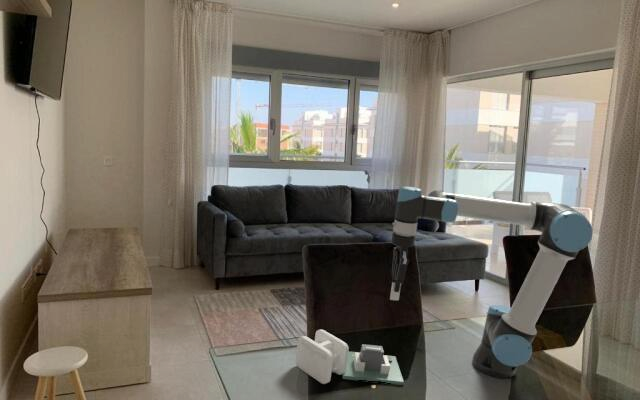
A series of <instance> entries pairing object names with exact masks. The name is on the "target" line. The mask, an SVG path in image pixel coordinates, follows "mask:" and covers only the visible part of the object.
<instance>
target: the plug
mask: <svg viewBox="0 0 640 400" xmlns="http://www.w3.org/2000/svg"><path fill="white" fill-rule="evenodd" d="M359 353H360V361H361V362H365V367H364V370H373V371H380V370H381V364H382V360H383V355H384V354H385V351H384V348H383V345H374V344H363V343H362V344H361V347H360V351H359Z"/></svg>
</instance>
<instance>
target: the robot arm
mask: <svg viewBox="0 0 640 400" xmlns="http://www.w3.org/2000/svg"><path fill="white" fill-rule="evenodd" d="M395 206H396V207H395V215H394V222H392V226H393V232H392V234H391V244H393V245H394V246H395V247H393V248H392V250H393V251H392V264H391V266H392V267H391V277H392V280H391V290H390V296H389V299H390V301H399V300H400V293H401V286H402V284H404V282H405V277H406V273H407V269H408V265H409V262H410V259H409V251H408V249H409V248H412V247H414V245H415V240H416V236H415V235H416V234H417V229H418V220H419V219H424V220H430V221H437V222H443V223H455V221H456V220H457V217H463V218H471V219H477V220H485V221H491V222H498V223H505V224H510V225H518V226H525V227H526V228H527V229H528V230H532V231H537V232H540V233H541V235H540V237H539V238H538V241H537V245H538V246H539V250H538V252H537V254H536V257H535V258H534V260H533V262H532V265H531V266H530V269H529V271H528V272H527V274H526V277H525V278H524V281H523V283H522V285H521V287H520V289H519V291H518V293H517V295H516V296H515V300H514V301H513V303H512V306H511V307H510V306H506V305H501V304H492V305H490V306H489V307H488V311H487V312H486V317H485V318H486V319H485V322H484V323H485V324H484V328H483V333H482V337H481V342H480V344H479V345H478V347H477V348H476V350H475V352H474V353H473V356H472V359H471V361H472V362H471V363H472V365H473V366H474V367H475V368H476V369H477V370H478V371H480V372H482V374H483V373H484V374H486V375H487V376H490V377H494V378H497V377H499V378H498V379H509V378H508V377H511V378H513V377H514V376H515V375H516V372H517V367H518V366H523V365H524V364H526V363H528V362H529V361H530V358H531V357H532V355H533V347H532V346H533V345H532V343H533V341H534V340H535V338H536V336H537V333H538V330H537V329H536V323H537V322H538V320H539V318H540V316H541V314H542V312H543V310H544V308H545V306H546V304H547V302H548V300H549V298H550V296H551V295H552V292H553V291H554V288H555V286H556V284H557V283H558V281H559V279H560V276H561V274H562V272H563V270H564V268H565V267H566V264H567V263H568V261H571V260H574V259H576V257H577V255H578V253H579V252H580V251H581V250H584V249H585V248H586V247H587V246H588V245H590V242H591V241H592V238H593V227H592V224H591V223H590V221H589V220H588V218H587V217H586V216H585V215H584V214H583V213H581V212H580V211H577V210H576V209H574V208H572V207H571V206H568V205H566V204H563V203H551V202H540V201H531V202H530V203H525V202H518V201H512V200H511V201H510V200H503V199H496V198H495V199H494V198H489V197H480V196H474V195H467V194H459V193H452V192H446V191H445V192H444V191H443V190H440V189H436V190H431V192H429V193H428V194H427V195H423V190H422V189H421V188H419V187H418V188H417V187H414V186H402V187H400V188H399V189H398V194H397V200H396V205H395ZM514 374H515V375H514ZM513 375H514V376H513ZM512 376H513V377H512Z"/></svg>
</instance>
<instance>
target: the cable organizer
mask: <svg viewBox="0 0 640 400" xmlns="http://www.w3.org/2000/svg"><path fill="white" fill-rule="evenodd" d="M349 347H350V346H349V345H348V343H346V342H345V341H343V340H342V339H341V338H338V337H336V336H335V335H333V334H331V333H330V332H327V330H324V329H318V330H316V331H315V336H314V340H313V339H311V338H310V337H308V336H306V335H302V336H300V337H298V339H297V345H296V353H295V365H296V366H297V368H299V369H300V370H301V371H303V372H304V373H306V374H307V375H308V376H310V377H312V378H313V379H315V380H316V381H318V382H319V383H320V384H322V385H326V384H328V383H330V382H331V379H332V378H331V377H332V373H334V374H337V375H340V376H342V374H343V373H345V371H346V365H347V358H348V352H349V349H350V348H349Z"/></svg>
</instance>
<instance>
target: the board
mask: <svg viewBox="0 0 640 400" xmlns="http://www.w3.org/2000/svg"><path fill="white" fill-rule="evenodd" d="M364 367H365V362H361V361H360V351H359V352H357V351H349V352H348V358H347V365H346V371H345V373H343V374H341V377H342V378H341V379H342V380H350V381H351V380H352V381H358V380H367V381H366V382H368V381H381V382H386V383H385V384H387V383H391V384H390V385H399V386H404V383H405V380H404V378H403V376H402V373H401V370H400V366H399V363H398V361H397V357H396V356H395V355H388V354H387V355H386V354H385V355H384V354H383V360H382V364H381V370H380V371H373V370H364Z"/></svg>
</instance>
